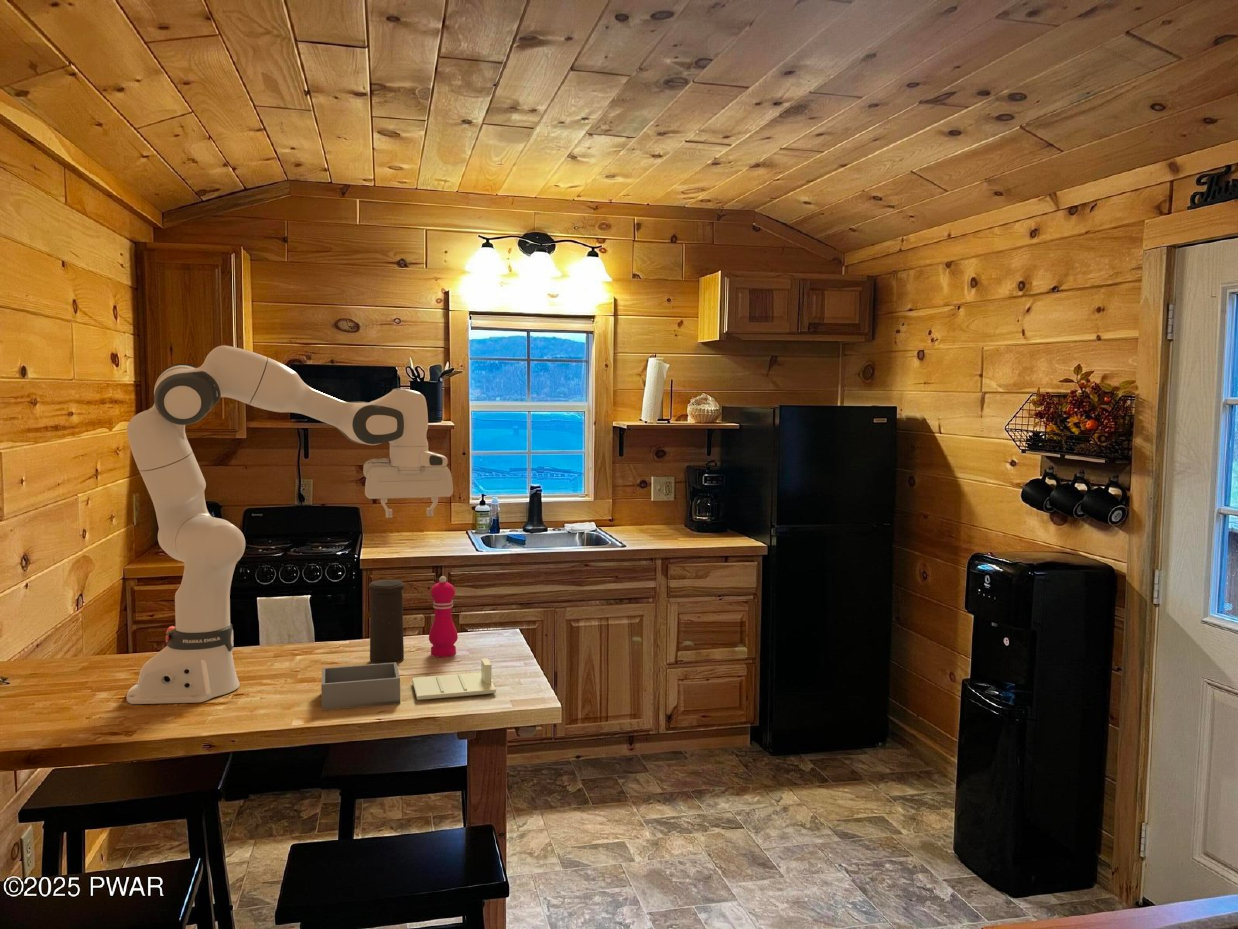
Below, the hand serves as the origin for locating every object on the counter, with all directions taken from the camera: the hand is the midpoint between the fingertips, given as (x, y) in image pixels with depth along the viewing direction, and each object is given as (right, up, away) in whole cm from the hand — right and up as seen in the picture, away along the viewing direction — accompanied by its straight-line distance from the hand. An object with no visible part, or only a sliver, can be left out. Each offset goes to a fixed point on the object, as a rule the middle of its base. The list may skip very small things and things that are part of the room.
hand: (409, 516), depth 218 cm
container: (-8, -36, +11) cm, 39 cm away
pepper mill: (+5, -36, +17) cm, 40 cm away
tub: (-7, -39, -17) cm, 42 cm away
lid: (+12, -38, -11) cm, 41 cm away
